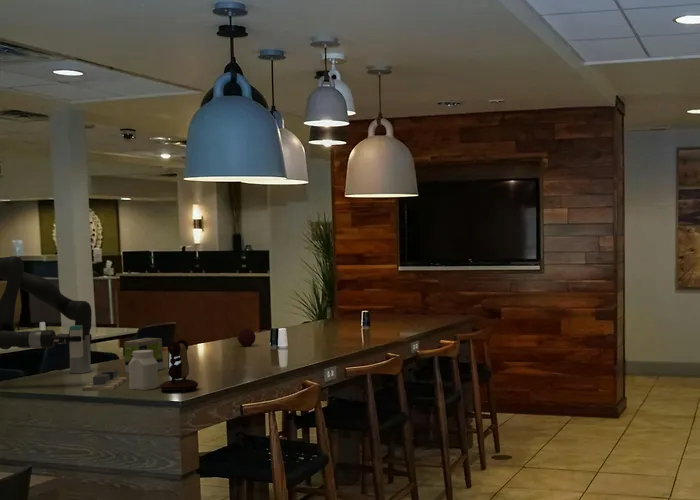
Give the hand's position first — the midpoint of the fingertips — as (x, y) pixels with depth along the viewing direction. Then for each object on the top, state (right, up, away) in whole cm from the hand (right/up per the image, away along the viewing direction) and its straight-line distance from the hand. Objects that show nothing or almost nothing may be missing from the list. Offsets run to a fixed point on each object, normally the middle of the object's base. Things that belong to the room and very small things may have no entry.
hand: (82, 338), depth 365 cm
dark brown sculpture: (+44, -19, -19) cm, 52 cm away
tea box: (+17, -19, +38) cm, 46 cm away
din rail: (+10, -18, -1) cm, 21 cm away
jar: (+28, -19, -10) cm, 36 cm away
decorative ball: (+54, -18, +125) cm, 138 cm away
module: (-2, -8, 0) cm, 8 cm away
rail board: (+10, -20, -1) cm, 22 cm away
